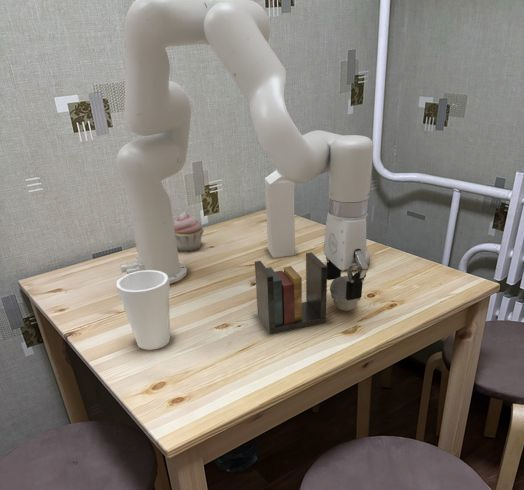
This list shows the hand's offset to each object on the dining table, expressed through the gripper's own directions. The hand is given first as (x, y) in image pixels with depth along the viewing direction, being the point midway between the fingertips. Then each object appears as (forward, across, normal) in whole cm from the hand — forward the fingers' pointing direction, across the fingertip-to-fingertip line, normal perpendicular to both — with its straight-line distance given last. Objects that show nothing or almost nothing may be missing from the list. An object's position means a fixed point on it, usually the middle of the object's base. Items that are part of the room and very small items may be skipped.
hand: (343, 288), depth 108 cm
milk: (+5, -34, -2) cm, 35 cm away
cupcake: (+6, -48, -24) cm, 54 cm away
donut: (+5, -20, +12) cm, 24 cm away
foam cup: (+6, -2, -40) cm, 40 cm away
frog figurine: (+5, 0, 0) cm, 5 cm away
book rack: (+5, 0, -12) cm, 12 cm away
